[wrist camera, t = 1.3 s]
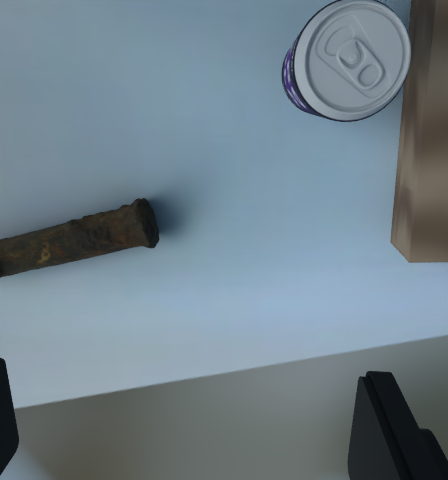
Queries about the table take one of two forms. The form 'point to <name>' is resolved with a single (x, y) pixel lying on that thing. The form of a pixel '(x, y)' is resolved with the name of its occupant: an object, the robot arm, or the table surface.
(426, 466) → the robot arm
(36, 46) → the table surface
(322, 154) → the table surface
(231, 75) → the table surface
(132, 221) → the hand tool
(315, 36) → the beverage can
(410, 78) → the holder block
